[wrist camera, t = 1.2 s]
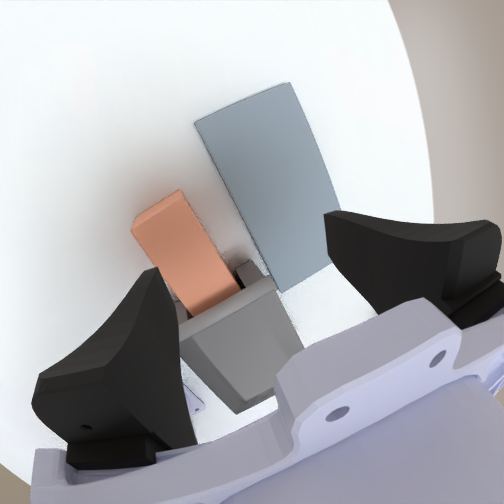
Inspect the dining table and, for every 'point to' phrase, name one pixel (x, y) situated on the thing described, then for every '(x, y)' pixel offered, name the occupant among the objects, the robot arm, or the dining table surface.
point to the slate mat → (275, 180)
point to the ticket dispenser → (240, 341)
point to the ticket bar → (184, 254)
